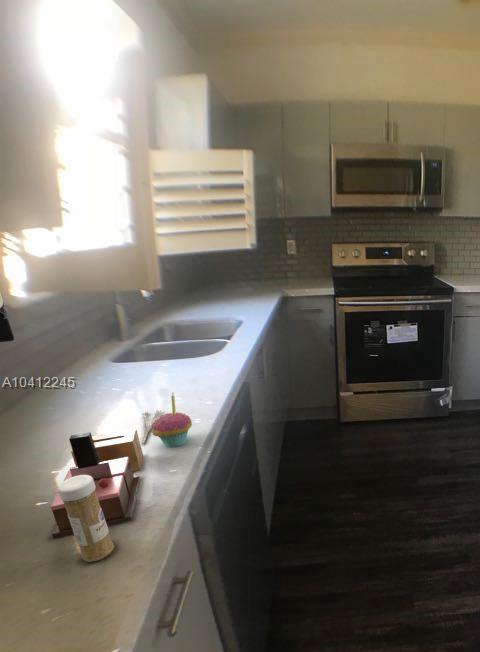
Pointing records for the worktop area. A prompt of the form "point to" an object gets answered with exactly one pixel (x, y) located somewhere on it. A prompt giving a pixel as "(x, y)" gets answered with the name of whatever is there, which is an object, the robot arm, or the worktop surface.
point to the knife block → (118, 447)
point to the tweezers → (150, 423)
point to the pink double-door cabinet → (105, 497)
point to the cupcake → (172, 427)
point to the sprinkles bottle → (86, 517)
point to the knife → (88, 458)
